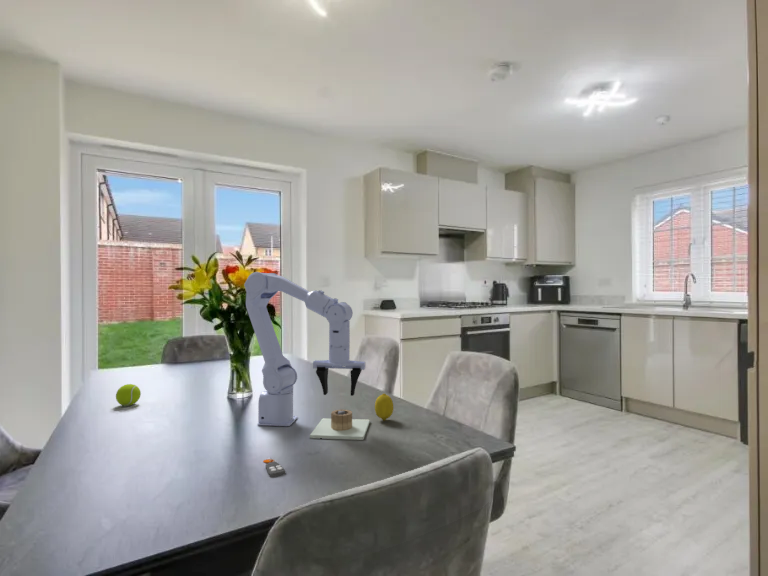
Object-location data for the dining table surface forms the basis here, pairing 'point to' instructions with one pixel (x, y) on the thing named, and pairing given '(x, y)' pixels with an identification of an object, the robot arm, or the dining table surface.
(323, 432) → the white board with peg
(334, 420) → the bead
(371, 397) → the dining table surface
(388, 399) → the lemon
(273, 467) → the key chain
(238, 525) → the dining table surface
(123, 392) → the tennis ball
